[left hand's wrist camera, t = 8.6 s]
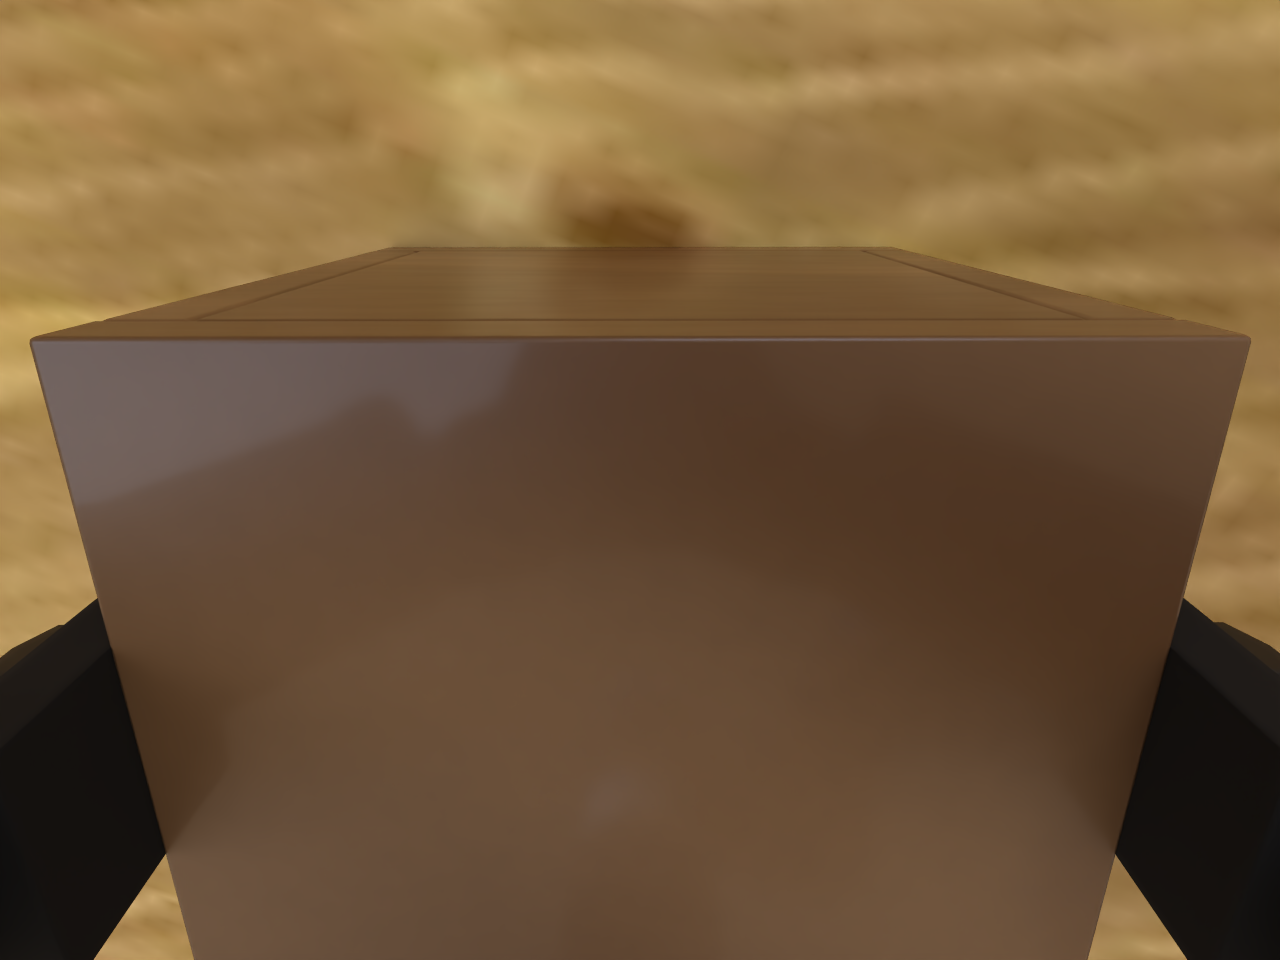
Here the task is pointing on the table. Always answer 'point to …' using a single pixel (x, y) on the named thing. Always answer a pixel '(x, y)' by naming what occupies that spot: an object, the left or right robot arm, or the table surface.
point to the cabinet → (640, 597)
